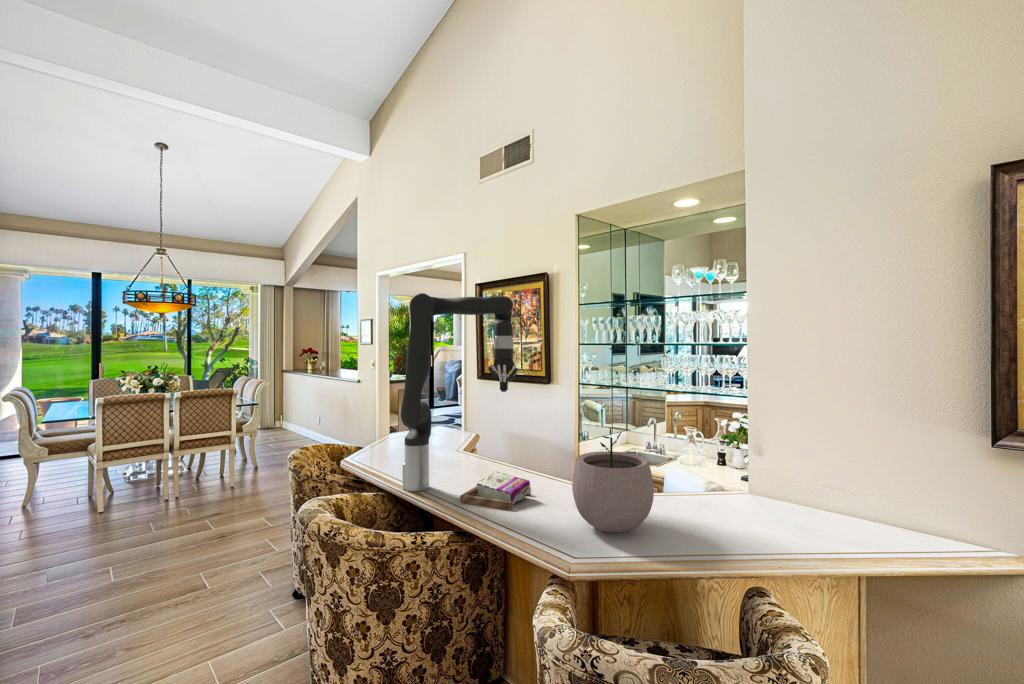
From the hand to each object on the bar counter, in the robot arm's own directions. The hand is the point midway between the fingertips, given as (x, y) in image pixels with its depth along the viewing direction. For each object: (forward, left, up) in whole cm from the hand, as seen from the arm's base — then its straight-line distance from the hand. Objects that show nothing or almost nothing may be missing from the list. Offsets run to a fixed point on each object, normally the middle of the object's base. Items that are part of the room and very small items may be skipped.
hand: (503, 391), depth 185 cm
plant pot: (+48, -26, -37) cm, 66 cm away
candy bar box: (+14, -16, -34) cm, 40 cm away
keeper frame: (+4, -15, -37) cm, 40 cm away
